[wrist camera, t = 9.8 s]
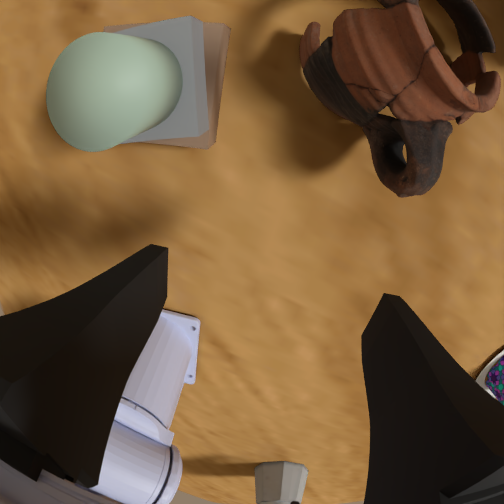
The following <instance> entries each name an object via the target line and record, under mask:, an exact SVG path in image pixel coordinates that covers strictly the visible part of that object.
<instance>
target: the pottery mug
mask: <svg viewBox="0 0 504 504" xmlns="http://www.w3.org/2000/svg"><path fill="white" fill-rule="evenodd" d="M378 1H379V2H380V4H382V5H383V6H384V7H385V8H386V9H379V8H370V9H364V8H361V9H347V10H344V11H343V12H342V13H341V14H340V15H339V16H338V17H337V18H336V19H335V21H334V23H333V36H332V37H327V39H326V40H325V41H323V43H322V44H321V46H320V43H319V35H320V24H319V23H317V22H311V23H310V24H309V25H308V26H307V28H306V30H305V33H304V35H303V36H302V38H301V41H300V60H301V65H302V68H303V73H304V75H305V78H306V80H307V82H308V84H309V86H310V88H311V90H312V91H313V92H314V93H315V95H316V96H317V98H318V99H319V100H320V101H321V102H322V103H323V104H324V106H326V107H327V108H328V109H329V110H331V111H333V112H334V113H336V114H337V115H339V116H341V117H342V118H344V119H347V120H349V121H351V122H353V123H355V124H357V125H359V126H360V127H363V131H364V133H365V135H366V136H367V139H368V141H369V144H370V149H371V153H372V160H373V164H374V168H375V171H376V173H377V175H378V177H379V179H380V181H381V182H382V183H383V184H384V185H385V186H386V187H387V188H389V189H390V190H391V191H393V192H394V193H396V194H397V196H398V197H409V196H414V195H423V194H425V193H426V192H427V191H429V190H430V189H431V188H432V187H433V186H434V184H435V183H436V182H437V180H438V178H439V176H440V173H441V170H442V164H443V157H444V150H445V144H446V141H447V138H448V137H449V135H450V134H451V133H452V130H453V128H452V125H451V123H450V122H448V121H449V120H454V119H456V122H457V124H462V123H463V122H465V121H466V120H468V119H469V118H470V117H471V116H472V115H473V114H474V112H486V111H489V110H490V109H492V108H493V107H494V106H495V104H496V101H497V100H498V97H499V93H500V87H501V79H500V76H499V74H498V72H496V71H490V72H486V68H485V63H484V60H483V56H482V53H483V52H490V53H495V52H496V50H495V43H494V40H493V38H492V35H491V33H490V30H489V28H488V26H487V24H486V22H485V20H484V18H483V16H482V15H481V13H480V11H479V10H478V8H477V6H476V5H475V4H474V2H473V1H472V0H437V1H438V3H439V4H440V5H441V6H442V7H443V8H444V9H445V11H446V12H447V13H448V14H449V16H450V17H451V19H452V20H453V22H454V24H455V27H456V29H457V32H458V36H459V41H460V44H461V49H462V55H461V56H459V57H458V58H457V59H456V60H455V61H454V62H453V63H452V64H451V69H450V67H449V66H448V64H447V63H446V61H445V60H444V58H443V56H442V54H441V53H440V51H439V50H438V48H437V47H436V46H435V44H434V40H433V38H432V36H431V34H430V32H429V30H428V27H427V24H426V22H425V19H424V17H423V14H422V11H421V8H420V7H419V4H418V1H419V0H378ZM474 83H476V86H475V93H472V92H471V91H469V90H468V89H467V88H466V87H468V86H469V85H470V84H474ZM386 106H388V107H389V108H390V110H391V112H392V114H393V115H394V116H395V117H396V118H394V117H391V116H386V115H383V114H378V112H380V111H381V110H382V109H384V108H385V107H386ZM404 144H405V146H406V151H407V163H406V161H405V159H404V157H403V152H402V150H403V145H404Z"/></svg>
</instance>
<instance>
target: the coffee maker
mask: <svg viewBox="0 0 504 504" xmlns="http://www.w3.org/2000/svg"><path fill="white" fill-rule="evenodd" d="M307 475H308V470H307V468H306V467H305V466H304V465H303V464H297V463H292V462H287V461H277V462H263V463H261V464H260V465H258V466H256V467H255V487H256V503H257V504H301V500H302V496H303V492H304V488H305V484H306V479H307Z"/></svg>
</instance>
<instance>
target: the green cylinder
mask: <svg viewBox="0 0 504 504" xmlns="http://www.w3.org/2000/svg"><path fill="white" fill-rule="evenodd" d="M182 87H183V76H182V70H181V66H180V64H179V61H178V59H177V58H176V56H175V55H174V53H173V52H172V51H171V50H170V49H169V48H168V47H167V46H165V45H164V44H162V43H160V42H158V41H155V40H152V39H147V38H141V37H135V36H129V35H122V34H115V33H107V32H95V33H90V34H87V35H84V36H82V37H80V38H78V39H76V40H75V41H73V42H72V43H71V44H70V45H68V46H67V47H66V48H65V49H64V50H63V52H62V53H61V54H60V55H59V57H58V58H57V60H56V61H55V63H54V65H53V67H52V70H51V72H50V75H49V78H48V83H47V90H46V103H47V110H48V114H49V117H50V120H51V122H52V124H53V126H54V128H55V130H56V131H57V133H58V134H59V135H60V136H61V138H62V139H63V140H64V141H66V142H67V143H68V144H70V145H71V146H73V147H75V148H77V149H80V150H83V151H89V152H97V151H103V150H106V149H109V148H111V147H113V146H116V145H118V144H120V143H122V142H124V141H126V140H128V139H130V138H132V137H134V136H136V135H138V134H140V133H143V132H145V131H147V130H149V129H151V128H154V127H156V126H157V125H159V124H161V123H162V122H163V121H165V120H166V119H167V118H168V117H169V116H170V114H171V113H172V112H173V111H174V109H175V107H176V106H177V104H178V101H179V99H180V96H181V92H182Z"/></svg>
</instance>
